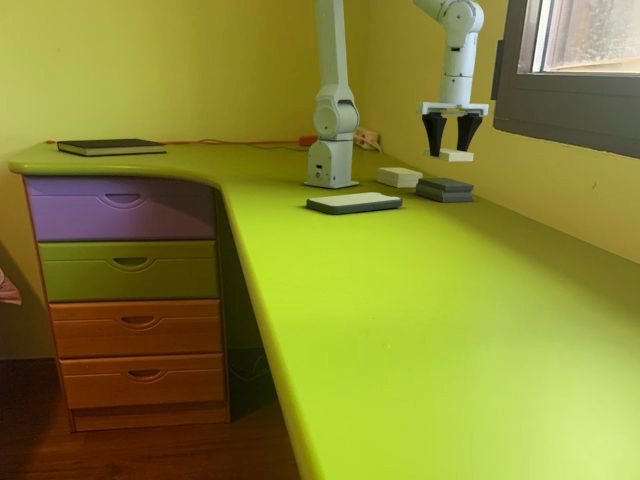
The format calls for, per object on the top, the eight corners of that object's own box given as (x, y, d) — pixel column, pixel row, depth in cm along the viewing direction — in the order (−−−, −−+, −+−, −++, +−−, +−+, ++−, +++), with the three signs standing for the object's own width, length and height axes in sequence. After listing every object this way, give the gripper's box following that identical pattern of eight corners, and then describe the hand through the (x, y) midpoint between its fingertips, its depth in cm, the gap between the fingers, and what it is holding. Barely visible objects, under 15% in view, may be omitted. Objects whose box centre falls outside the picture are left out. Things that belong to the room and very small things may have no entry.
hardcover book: (166, 152, 185) (165, 143, 184) (86, 156, 171) (85, 147, 170) (135, 146, 196) (135, 138, 194) (57, 150, 181) (56, 140, 180)
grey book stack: (472, 201, 133) (474, 184, 131) (442, 202, 130) (444, 185, 129) (443, 193, 141) (445, 177, 139) (415, 193, 138) (416, 178, 137)
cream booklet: (473, 161, 129) (474, 153, 129) (448, 161, 127) (449, 153, 127) (446, 155, 137) (447, 148, 136) (422, 155, 135) (423, 148, 134)
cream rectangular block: (421, 187, 147) (423, 173, 145) (397, 187, 145) (398, 173, 143) (399, 180, 154) (400, 167, 153) (376, 181, 152) (377, 167, 151)
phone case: (332, 217, 114) (405, 208, 122) (332, 207, 113) (406, 198, 121) (303, 208, 120) (374, 200, 129) (303, 198, 120) (374, 191, 128)
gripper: (434, 75, 120) (426, 159, 126) (502, 78, 125) (491, 158, 131) (414, 74, 125) (406, 154, 132) (479, 77, 131) (469, 154, 137)
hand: (447, 156), depth 132 cm, fingers closed on cream booklet, 5 cm apart
